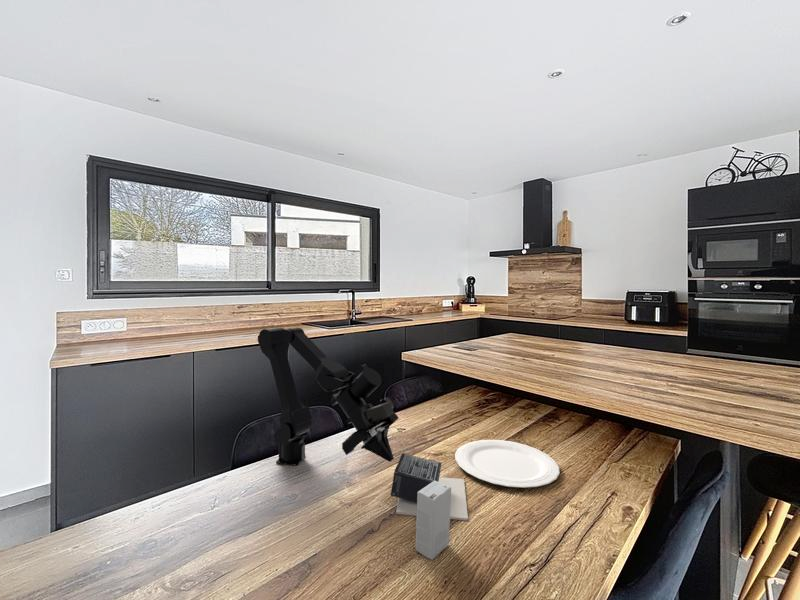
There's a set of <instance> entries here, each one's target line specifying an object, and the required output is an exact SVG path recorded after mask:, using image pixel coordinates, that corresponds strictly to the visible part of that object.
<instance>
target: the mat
mask: <svg viewBox="0 0 800 600" xmlns="http://www.w3.org/2000/svg"><path fill="white" fill-rule="evenodd" d="M438 482H440V483H442V484H445V485H447V486H449V487H451V505H450V520H456V521H457V520H459V521H467V522H468V521H469V516H468V515H469V514H468V506H467V505H468V504H467V495H466V488H465V479H464V478H453V477H444V476H443V477H442V476H439V481H438ZM395 511H396V512H395V514H396V515H403V516H405V515H406V516H415V517H417V503H416V502H413V501H409V500H405V499H402V498H398V501H397V506H396V510H395Z"/></svg>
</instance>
